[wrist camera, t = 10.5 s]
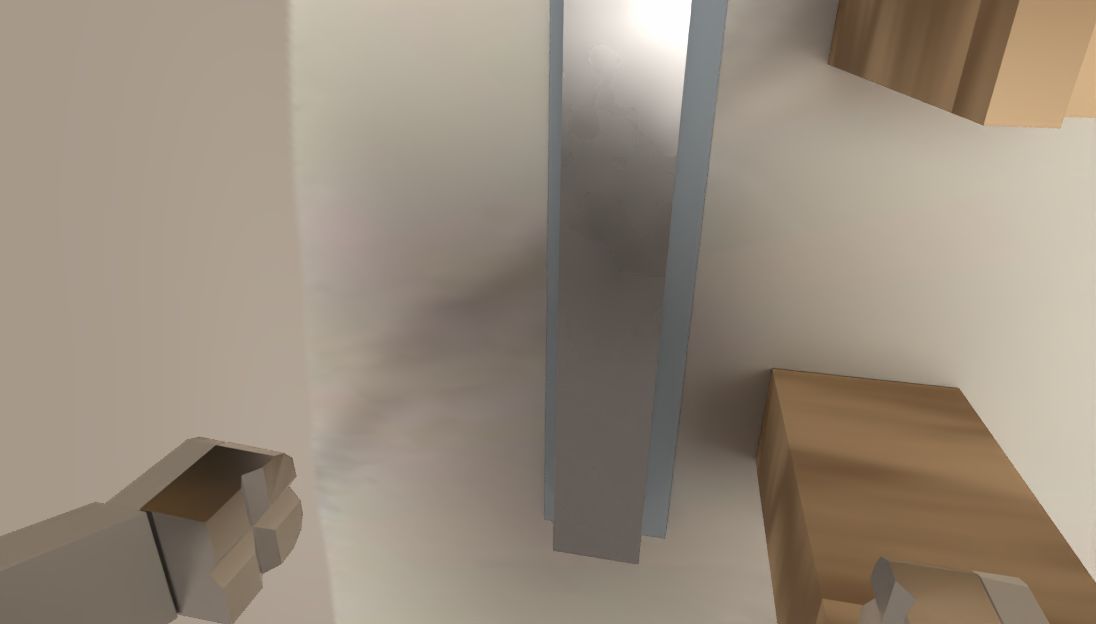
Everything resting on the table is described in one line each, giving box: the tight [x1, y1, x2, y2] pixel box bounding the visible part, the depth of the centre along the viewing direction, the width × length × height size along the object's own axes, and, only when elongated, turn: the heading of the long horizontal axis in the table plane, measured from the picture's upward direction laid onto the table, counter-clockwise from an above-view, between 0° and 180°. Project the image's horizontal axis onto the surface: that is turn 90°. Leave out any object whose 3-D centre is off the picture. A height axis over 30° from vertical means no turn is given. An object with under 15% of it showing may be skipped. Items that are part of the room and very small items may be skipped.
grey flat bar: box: [544, 0, 728, 538], centre depth 21 cm, size 26×5×1 cm, turn 179°
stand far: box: [756, 369, 1096, 624], centre depth 18 cm, size 4×6×11 cm, turn 89°
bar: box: [553, 0, 692, 564], centre depth 20 cm, size 22×3×4 cm, turn 179°
